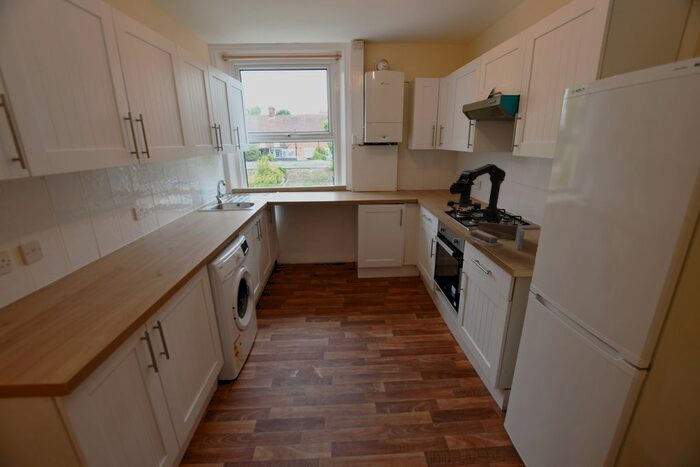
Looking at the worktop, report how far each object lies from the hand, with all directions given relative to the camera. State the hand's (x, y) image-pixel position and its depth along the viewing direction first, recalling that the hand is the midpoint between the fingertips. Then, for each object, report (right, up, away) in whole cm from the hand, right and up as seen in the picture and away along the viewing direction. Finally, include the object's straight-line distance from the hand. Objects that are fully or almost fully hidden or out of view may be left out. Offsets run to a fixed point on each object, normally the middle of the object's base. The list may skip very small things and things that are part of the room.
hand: (462, 218), depth 181 cm
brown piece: (+20, -14, -3) cm, 24 cm away
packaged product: (+13, -14, -1) cm, 19 cm away
